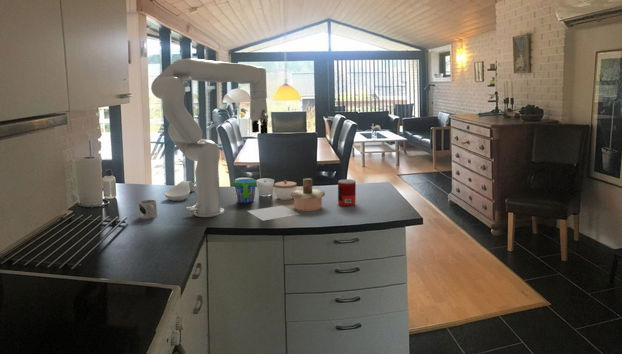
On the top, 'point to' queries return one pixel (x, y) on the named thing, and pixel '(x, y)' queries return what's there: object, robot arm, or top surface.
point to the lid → (307, 191)
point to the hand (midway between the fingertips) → (259, 132)
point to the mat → (273, 213)
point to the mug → (148, 209)
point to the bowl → (308, 204)
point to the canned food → (346, 192)
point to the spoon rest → (180, 191)
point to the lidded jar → (285, 189)
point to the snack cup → (245, 190)
